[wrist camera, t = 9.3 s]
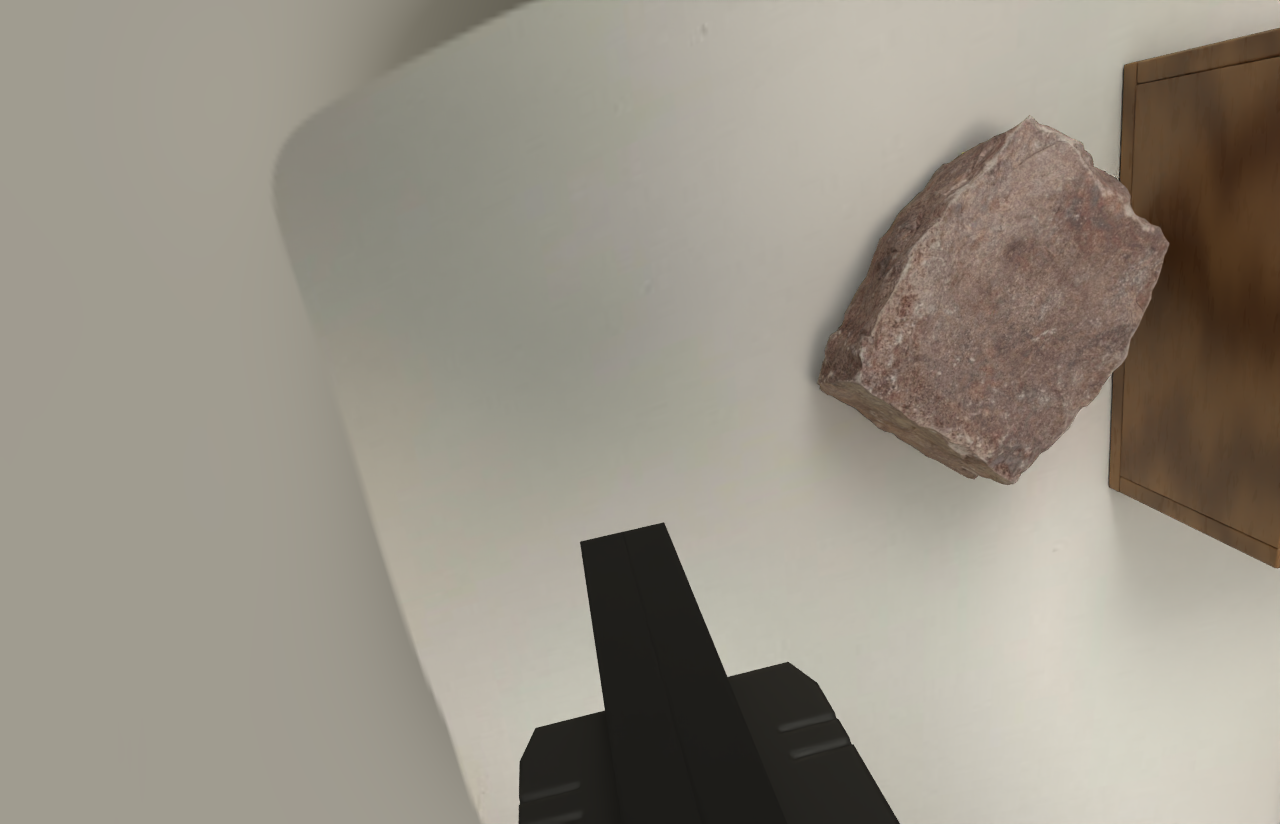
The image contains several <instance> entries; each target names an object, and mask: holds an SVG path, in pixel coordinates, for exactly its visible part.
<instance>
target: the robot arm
mask: <svg viewBox="0 0 1280 824" xmlns="http://www.w3.org/2000/svg"><path fill="white" fill-rule="evenodd" d="M580 545H581V551H582V558H583V565H584V572H585V578H586V585H587V592H588V599H589V605H590V612H591V619H592V626H593V632H594V639H595V646H596V653H597V659H598V666H599V673H600V680H601V686H602V693H603V700H604V707H605V711H602V712H598V713H594V714H590V715H586V716H582V717H578V718H574V719H570V720H566V721H562V722H558V723H554V724H550V725H546V726H542V727H538V728H535V730H534V732H533V735H532V737H531V739H530V741H529V743H528V745H527V747H526V749H525V752H524V754H523V756H522V758H521V760H520V772H519V799H520V805H519V824H900V823H899V821H898V820H897V818H896V816H895V815H894V813H893V811H892V809H891V808H890V806H889V804H888V803H887V801H886V799H885V798H884V796H883V794H882V792H881V791H880V789H879V787H878V786H877V784H876V782H875V780H874V779H873V777H872V775H871V774H870V772H869V770H868V769H867V767H866V765H865V763H864V762H863V760H862V758H861V757H860V755H859V753H858V751H857V750H856V748H855V746H854V745H853V744H851V742H850V738H849V736H848V734H847V733H846V731H845V729H844V728H843V726H842V724H841V722H840V721H839V719H837V718H836V716H835V712H834V711H833V709H832V707H831V705H830V704H829V702H828V700H827V699H826V697H825V695H824V693H823V692H822V690H821V688H820V687H819V685H818V683H817V682H815V681H814V680H812V679H811V678H810V677H808V676H807V675H806V674H804V673H803V672H802V671H800V670H799V669H797V668H796V667H795V666H793V665H792V664H791V663H789V662H786V663H782V664H778V665H774V666H770V667H766V668H762V669H758V670H754V671H750V672H746V673H742V674H738V675H734V676H730V677H727V675H726V673H725V670H724V668H723V665H722V663H721V660H720V658H719V656H718V653H717V651H716V648H715V646H714V643H713V641H712V638H711V636H710V634H709V631H708V629H707V626H706V624H705V621H704V619H703V616H702V614H701V612H700V609H699V607H698V604H697V602H696V599H695V597H694V594H693V592H692V590H691V587H690V585H689V582H688V580H687V577H686V575H685V572H684V570H683V567H682V565H681V563H680V560H679V558H678V555H677V553H676V550H675V548H674V545H673V543H672V541H671V538H670V536H669V533H668V531H667V528H666V526H665V523H660V524H655V525H651V526H647V527H642V528H638V529H634V530H629V531H625V532H620V533H616V534H612V535H607V536H603V537H599V538H594V539H590V540H586V541H581V542H580Z"/></svg>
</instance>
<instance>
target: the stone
mask: <svg viewBox="0 0 1280 824" xmlns="http://www.w3.org/2000/svg"><path fill="white" fill-rule="evenodd" d="M1130 199H1131V196H1130V194H1129V191H1128V189H1127V188H1126V187H1125V186H1124V185H1123V184H1122V183H1121V182H1120V181H1118V180H1117V179H1116V178H1115V177H1113V176H1110V175H1108V174H1107V173H1106V172H1105V171H1102V170H1100V169H1098V168H1096V167H1093V159H1092V156H1091V154H1089V153H1088V152H1087V151H1085V150H1084V146H1083V143H1081V142H1079V141H1077V140H1075V139H1072V138H1070V137H1068V136H1066V135H1065V134H1063V133H1061V132H1059V131H1057V130H1055V129H1053V128H1051V127H1049V126H1045V125H1041V124H1039V123H1038V122H1037V121H1036V120H1035V119H1034V118H1033V117H1031V116H1030V115H1029V116H1028V117H1027V118H1026V119H1025V120H1024V121H1023V122H1021V123H1020V124H1019V125H1017V126H1016V127H1014V128H1012V129H1011V130H1009V131H1007V132H1005V133H1002V134H999V135H997V136H994V137H993V138H991V139H989V140H987V141H986V142H983V143H980V144H979V145H977V146H975V147H973V148H972V149H970V150H968V151H966V152H965V153H963V154H961V155H959V156H958V157H957V158H955V159H954V160H953V161H951V162H950V163H947V164H943V165H942V166H941V167H940V168H939V169H938V170H937V171H936V172H935V173H934V174H933V176H932V178H931V179H930V181H929V182H928V184H927V185H926V187H925V189H924V190H923V191H922V192H920V193H919V194H918V195H917V196H916V197H915V198H914V199H913V200H912V201H911V202H910V203H909V204H908V205H907V206H905V207H904V208H903V209H902V211H901V212H900V213H899V214H898V215H897V217H896V219H895V221H894V222H893V224H892V226H891V227H890V229H889V230H888V231H887V233H886V234H885V235H884V236H883V237H882V238H880V239H879V242H878V246H877V249H876V251H875V253H874V256H873V259H872V263H871V265H870V268H869V271H868V274H867V277H866V278H865V279H864V281H863V282H862V283H861V285H860V286H859V288H858V290H857V292H856V293H855V295H854V297H853V299H852V301H851V303H850V305H849V307H848V309H847V310H846V312H845V316H844V321H843V323H842V325H841V326H840V327H839V328H838V330H837V332H835V333H833V334H831V335H830V337H829V340H828V342H827V345H826V348H825V358H824V361H823V364H822V368H821V372H820V375H819V378H818V381H817V383H818V384H819V385H820V390H821V391H823V392H824V393H825V394H827V395H831V396H833V397H835V398H836V399H838V400H840V401H841V402H843V403H846V404H848V405H850V406H852V407H854V408H856V409H857V410H858V411H859V412H860V413H862V414H863V415H864V416H865V417H866V418H868V419H869V420H870V421H872V422H873V423H874V424H875V425H876V426H877V427H878V428H879V429H881V430H883V431H886V432H891V433H894V434H895V435H896V436H897V438H899V439H901V440H903V441H904V442H906V443H908V444H909V445H911V446H913V447H914V448H916V449H917V450H919V451H920V452H921V453H923V454H924V455H925V456H927V457H930V458H932V459H934V460H937V461H939V462H940V463H942V464H944V465H946V466H947V467H949V468H951V469H952V470H954V471H956V472H958V473H959V474H961V475H963V476H965V477H967V478H971V479H975V478H976V477H977V476H978V475H979V476H982V477H984V478H989V479H992V480H994V481H996V482H999V483H1001V484H1005V485H1010V484H1014V483H1016V482H1017V481H1018V479H1019V477H1020V475H1021V473H1022V472H1024V471H1026V470H1027V469H1028V468H1029V467H1030V466H1031V465H1032V464H1033V462H1034V461H1035V460H1036V459H1037V457H1038V456H1039V455H1040V454H1041V453H1042V452H1044V451H1046V450H1048V449H1049V448H1050V447H1051V446H1052V445H1053V444H1054V443H1055V442H1056V441H1057V440H1058V439H1059V438H1060V436H1062V435H1063V434H1064V433H1065V432H1066V431H1067V430H1068V429H1069V428H1070V426H1071V424H1072V422H1073V420H1074V418H1075V416H1076V414H1077V413H1078V412H1079V410H1080V409H1081V408H1082V407H1085V406H1088V405H1089V404H1090V403H1091V402H1092V401H1093V399H1094V398H1095V397H1096V396H1097V395H1098V394H1099V392H1100V390H1101V388H1102V386H1103V384H1104V383H1105V381H1106V380H1107V379H1108V377H1109V376H1110V375H1111V373H1113V372H1114V371H1115V370H1116V369H1117V368H1118V367H1119V366H1120V365H1121V364H1122V363H1123V361H1124V360H1125V359H1126V357H1127V355H1128V350H1129V345H1130V340H1131V338H1132V336H1133V335H1134V333H1135V331H1136V330H1137V328H1138V326H1139V324H1140V321H1141V319H1142V317H1143V314H1144V312H1145V310H1146V308H1147V306H1148V304H1149V302H1150V300H1151V294H1152V290H1153V288H1154V287H1155V285H1156V283H1157V281H1158V277H1159V274H1160V271H1161V268H1162V264H1163V260H1164V256H1165V254H1166V252H1167V250H1168V246H1169V242H1168V241H1167V240H1166V238H1165V237H1164V235H1163V233H1162V230H1161V228H1160V227H1158V226H1155V225H1152V224H1150V223H1149V222H1148V221H1147V220H1146V219H1144V218H1141V217H1139V216H1137V215H1136V214H1135V213H1134V211H1133V209H1132V207H1131V205H1130Z"/></svg>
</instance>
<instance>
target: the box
mask: <svg viewBox="0 0 1280 824" xmlns="http://www.w3.org/2000/svg"><path fill="white" fill-rule="evenodd" d="M1120 182H1121V183H1122V184H1123V185H1124V186H1125V187H1126V188H1127V189H1128V191H1129V194H1130V196H1131V199H1130V205H1131V207H1132V209H1133V211H1134V213H1135V214H1136V215H1137V216H1139V217H1141V218H1144V219H1146V220H1147V221H1148V222H1149V223H1150V224H1152V225H1155V226H1158V227H1160V228H1161V230H1162V233H1163V235H1164V237H1165V238H1166V240H1167V241H1168V242H1169V246H1168V250H1167V252H1166V254H1165V256H1164V260H1163V264H1162V268H1161V271H1160V274H1159V277H1158V281H1157V283H1156V285H1155V287H1154V288H1153V290H1152V294H1151V300H1150V302H1149V304H1148V306H1147V308H1146V310H1145V312H1144V314H1143V317H1142V319H1141V321H1140V324H1139V326H1138V328H1137V330H1136V331H1135V333H1134V335H1133V336H1132V338H1131V340H1130V345H1129V350H1128V355H1127V357H1126V359H1125V360H1124V361H1123V363H1122V364H1121V365H1120V366H1119V367H1118V368H1117V369H1116V370H1115V371H1114V372H1113V392H1112V419H1111V447H1110V475H1109V487H1110V488H1112V489H1114V490H1116V491H1118V492H1121V493H1123V494H1125V495H1127V496H1129V497H1131V498H1133V499H1135V500H1137V501H1139V502H1141V503H1143V504H1145V505H1147V506H1149V507H1151V508H1153V509H1155V510H1157V511H1160V512H1162V513H1164V514H1166V515H1168V516H1170V517H1172V518H1174V519H1176V520H1178V521H1180V522H1182V523H1184V524H1186V525H1188V526H1190V527H1192V528H1194V529H1196V530H1198V531H1200V532H1202V533H1204V534H1206V535H1208V536H1211V537H1213V538H1215V539H1217V540H1219V541H1221V542H1223V543H1225V544H1227V545H1229V546H1231V547H1233V548H1235V549H1237V550H1239V551H1241V552H1243V553H1245V554H1247V555H1249V556H1251V557H1253V558H1255V559H1257V560H1260V561H1262V562H1264V563H1266V564H1268V565H1270V566H1272V567H1274V568H1280V28H1277V29H1272V30H1268V31H1264V32H1260V33H1255V34H1251V35H1247V36H1243V37H1239V38H1234V39H1230V40H1226V41H1222V42H1217V43H1213V44H1209V45H1205V46H1201V47H1196V48H1192V49H1188V50H1184V51H1180V52H1175V53H1171V54H1167V55H1163V56H1158V57H1154V58H1150V59H1146V60H1142V61H1137V62H1133V63H1129V64H1125V65H1124V88H1123V115H1122V143H1121V171H1120Z"/></svg>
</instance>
